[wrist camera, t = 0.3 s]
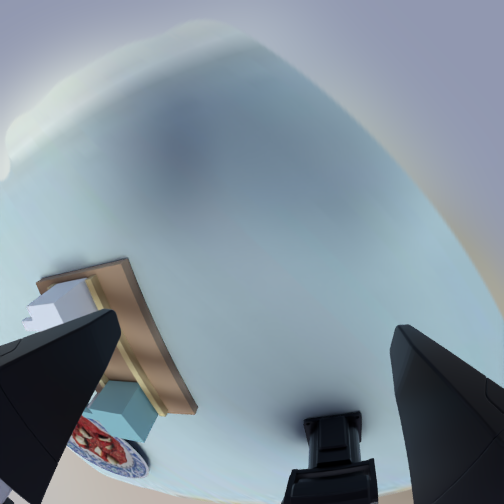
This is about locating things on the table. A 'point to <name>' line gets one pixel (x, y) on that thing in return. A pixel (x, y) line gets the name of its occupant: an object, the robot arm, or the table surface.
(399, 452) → the table surface
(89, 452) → the ceramic plate
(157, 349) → the board
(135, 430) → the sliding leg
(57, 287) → the fixed leg
